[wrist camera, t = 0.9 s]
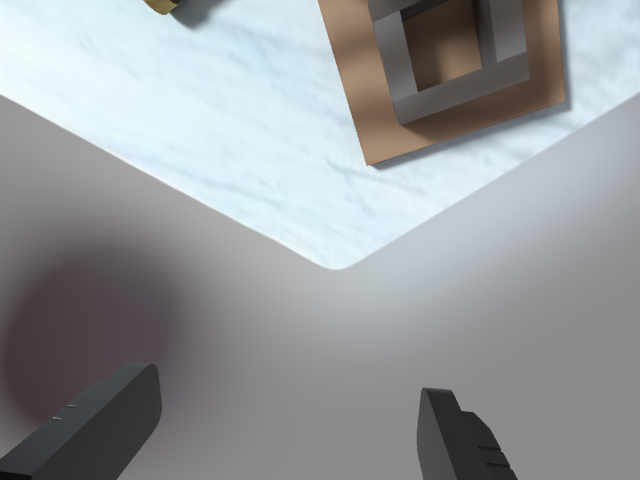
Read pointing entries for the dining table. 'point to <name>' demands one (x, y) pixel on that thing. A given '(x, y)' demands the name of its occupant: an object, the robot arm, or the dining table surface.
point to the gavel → (162, 5)
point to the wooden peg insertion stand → (442, 66)
